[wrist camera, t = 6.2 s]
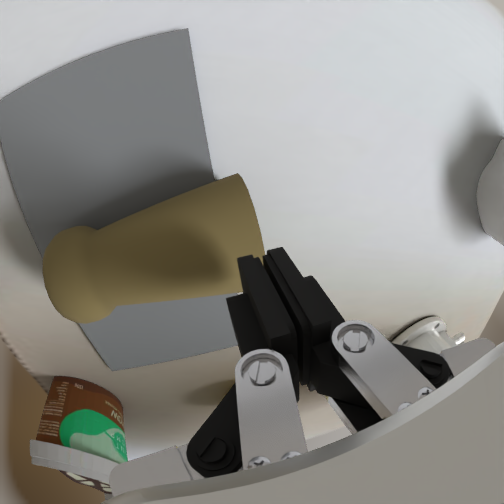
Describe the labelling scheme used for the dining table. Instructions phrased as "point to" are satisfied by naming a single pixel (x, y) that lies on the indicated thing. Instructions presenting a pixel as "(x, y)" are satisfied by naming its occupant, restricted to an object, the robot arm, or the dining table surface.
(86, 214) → the mat
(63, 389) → the food container
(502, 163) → the lumpy-topped squat cylinder
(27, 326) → the dining table surface
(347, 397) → the robot arm
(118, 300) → the cork
